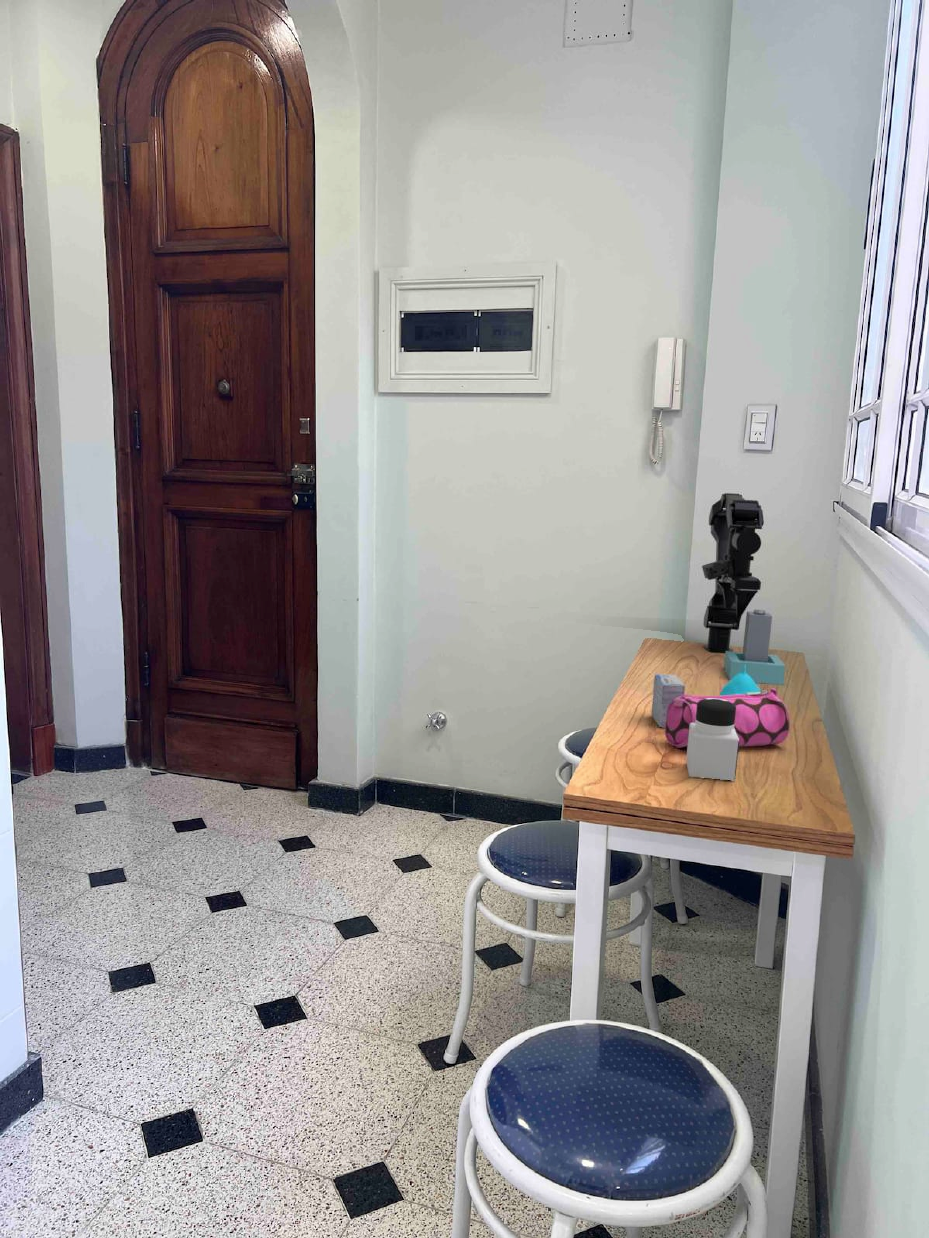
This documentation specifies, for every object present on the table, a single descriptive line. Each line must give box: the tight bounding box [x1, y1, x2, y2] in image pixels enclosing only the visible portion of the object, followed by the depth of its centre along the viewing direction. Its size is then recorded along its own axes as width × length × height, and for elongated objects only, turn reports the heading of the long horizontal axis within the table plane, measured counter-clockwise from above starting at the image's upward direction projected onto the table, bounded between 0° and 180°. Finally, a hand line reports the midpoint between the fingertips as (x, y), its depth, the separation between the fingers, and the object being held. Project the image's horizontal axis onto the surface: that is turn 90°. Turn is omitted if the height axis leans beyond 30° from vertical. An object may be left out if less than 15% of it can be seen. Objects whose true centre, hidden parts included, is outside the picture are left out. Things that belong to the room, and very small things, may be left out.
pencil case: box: [664, 687, 791, 749], centre depth 157 cm, size 21×10×10 cm, turn 109°
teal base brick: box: [723, 650, 786, 686], centre depth 210 cm, size 12×12×4 cm
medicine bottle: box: [685, 698, 740, 782], centre depth 142 cm, size 7×7×12 cm
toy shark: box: [719, 665, 762, 695], centre depth 175 cm, size 10×18×11 cm, turn 172°
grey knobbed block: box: [742, 609, 773, 663], centre depth 209 cm, size 5×5×13 cm
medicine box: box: [651, 673, 686, 729], centre depth 169 cm, size 8×4×9 cm, turn 179°
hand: (733, 613), depth 221 cm, fingers open, 9 cm apart
